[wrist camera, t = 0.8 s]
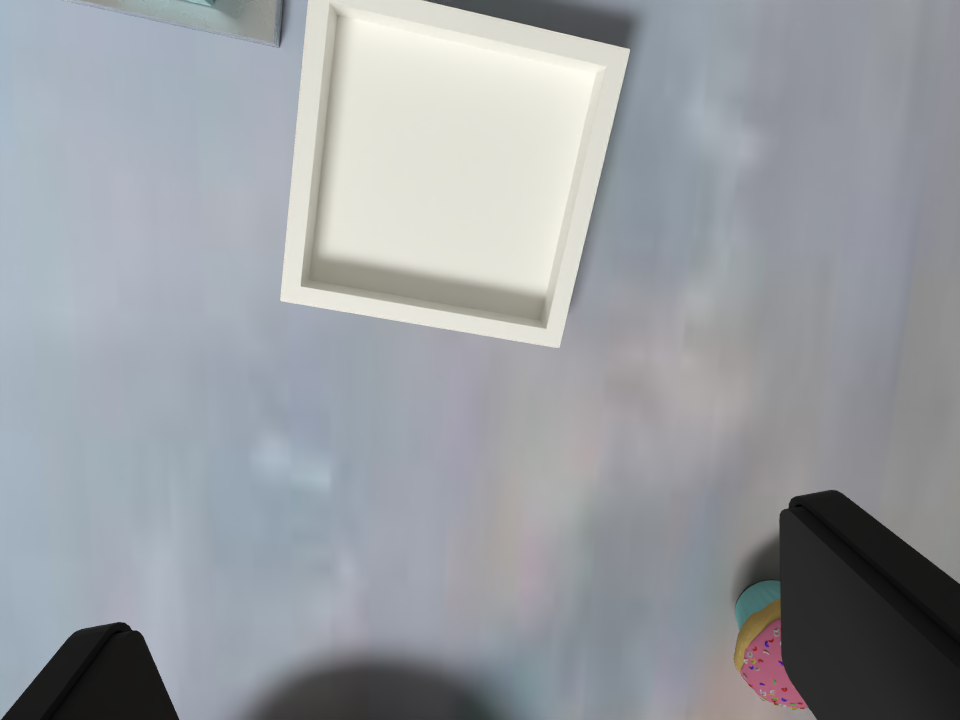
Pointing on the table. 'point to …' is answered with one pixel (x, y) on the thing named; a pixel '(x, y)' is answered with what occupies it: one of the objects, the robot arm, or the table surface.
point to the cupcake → (763, 645)
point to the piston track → (207, 16)
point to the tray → (445, 166)
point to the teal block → (203, 2)
